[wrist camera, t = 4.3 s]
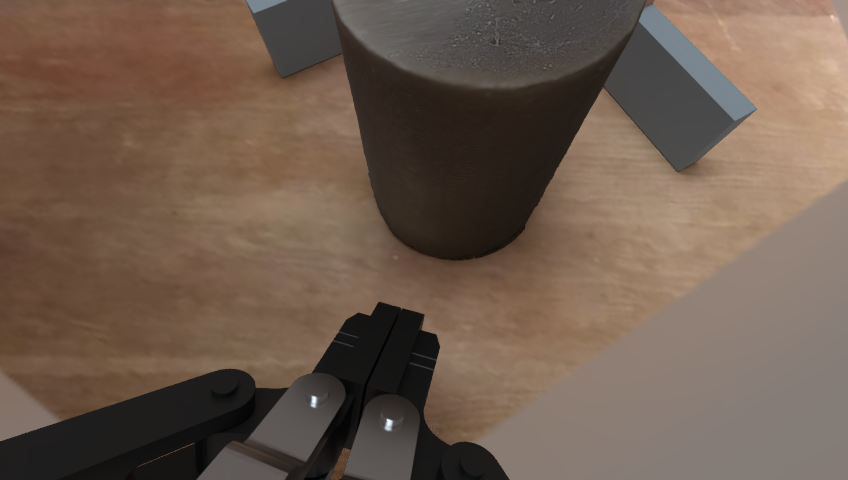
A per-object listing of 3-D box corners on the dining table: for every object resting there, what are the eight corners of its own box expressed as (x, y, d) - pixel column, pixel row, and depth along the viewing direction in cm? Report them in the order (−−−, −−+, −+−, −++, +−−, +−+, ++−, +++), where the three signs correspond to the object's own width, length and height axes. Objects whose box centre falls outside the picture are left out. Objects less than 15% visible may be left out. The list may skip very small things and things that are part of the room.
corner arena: (414, 318, 23) (411, 294, 17) (273, 62, 28) (239, -15, 23) (696, 161, 26) (766, 100, 21) (518, -39, 32) (536, -126, 27)
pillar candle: (547, 257, 24) (728, 45, 10) (370, 263, 24) (298, 55, 10) (525, 113, 27) (635, -196, 13) (372, 117, 27) (320, -192, 13)
